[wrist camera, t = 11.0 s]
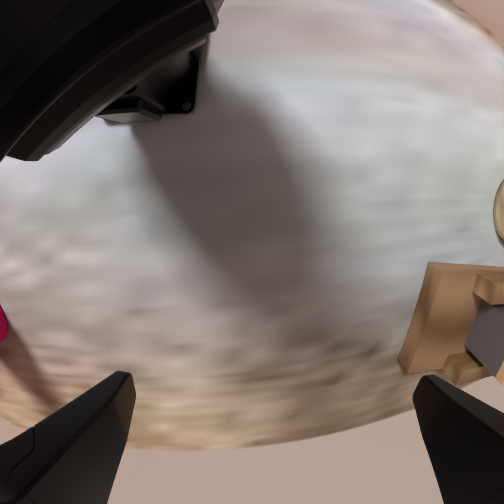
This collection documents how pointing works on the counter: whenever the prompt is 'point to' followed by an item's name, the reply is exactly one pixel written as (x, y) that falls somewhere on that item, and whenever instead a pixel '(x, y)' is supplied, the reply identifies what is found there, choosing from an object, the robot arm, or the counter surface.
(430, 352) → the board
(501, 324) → the block
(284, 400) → the counter surface
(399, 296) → the counter surface
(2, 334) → the pepper mill
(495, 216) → the door knob
